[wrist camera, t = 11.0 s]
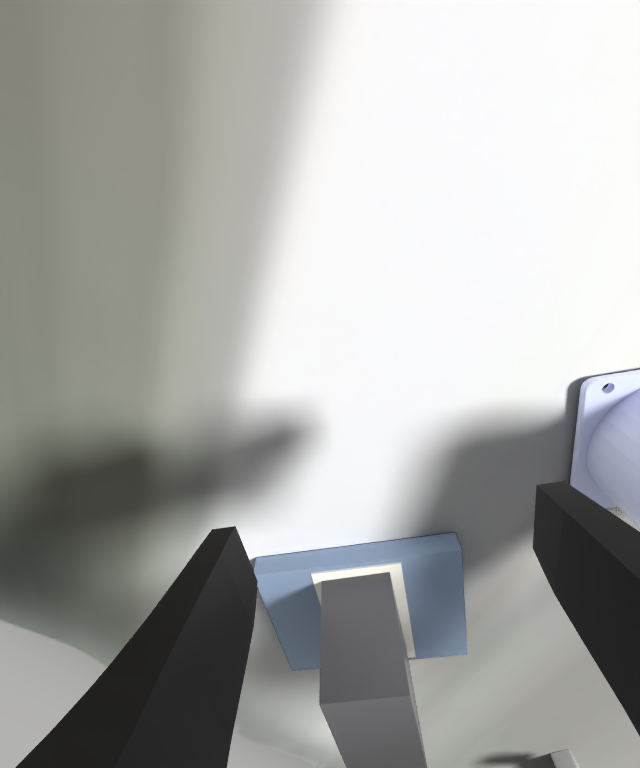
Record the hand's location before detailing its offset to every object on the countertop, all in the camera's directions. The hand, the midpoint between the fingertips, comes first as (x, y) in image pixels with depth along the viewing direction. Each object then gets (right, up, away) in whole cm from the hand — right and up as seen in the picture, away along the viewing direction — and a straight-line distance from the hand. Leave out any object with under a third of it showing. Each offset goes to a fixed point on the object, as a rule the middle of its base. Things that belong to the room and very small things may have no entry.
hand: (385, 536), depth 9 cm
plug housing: (+1, -11, +14) cm, 18 cm away
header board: (+1, -10, +15) cm, 19 cm away
